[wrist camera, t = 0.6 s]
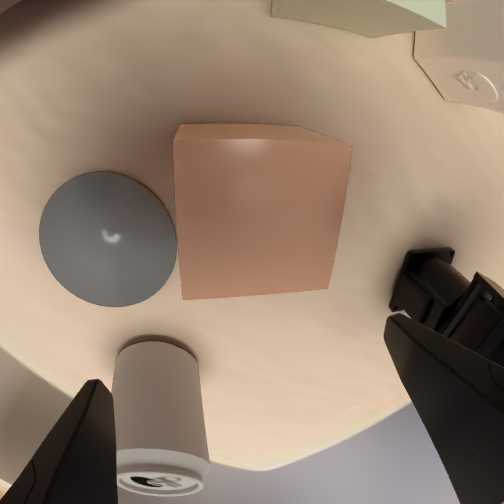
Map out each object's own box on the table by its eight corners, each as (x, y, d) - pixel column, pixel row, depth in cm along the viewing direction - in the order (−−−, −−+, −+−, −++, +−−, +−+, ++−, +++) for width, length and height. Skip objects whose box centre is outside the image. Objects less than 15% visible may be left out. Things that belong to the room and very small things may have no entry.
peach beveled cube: (297, 126, 17) (352, 145, 11) (287, 228, 21) (327, 288, 15) (180, 124, 16) (173, 140, 10) (183, 233, 19) (182, 299, 13)
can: (100, 350, 23) (81, 475, 13) (169, 321, 23) (172, 466, 12) (148, 394, 27) (149, 503, 17) (213, 372, 27) (232, 491, 16)
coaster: (172, 165, 17) (172, 167, 17) (182, 301, 22) (182, 304, 22) (29, 181, 15) (26, 183, 15) (61, 304, 20) (60, 307, 20)
